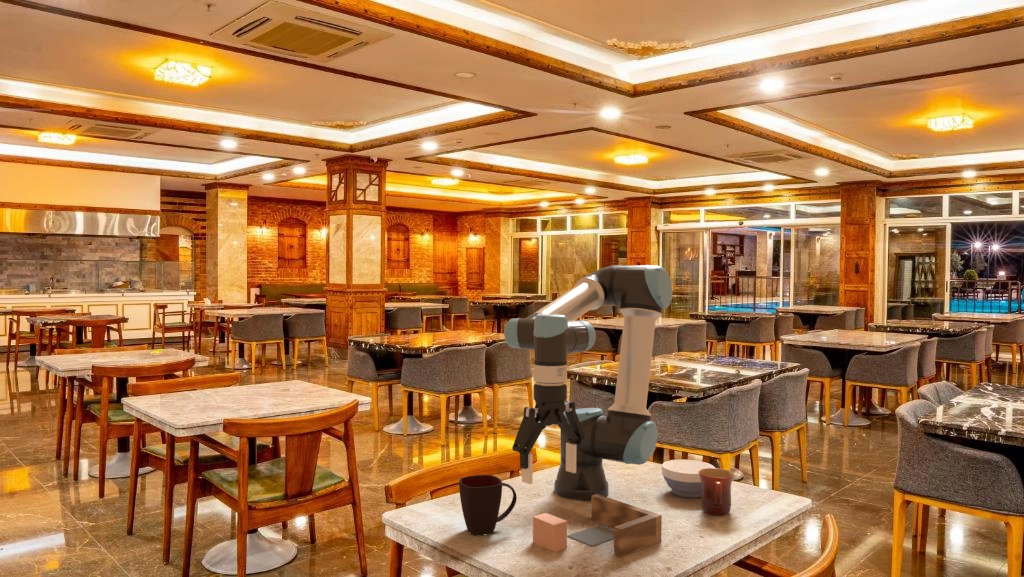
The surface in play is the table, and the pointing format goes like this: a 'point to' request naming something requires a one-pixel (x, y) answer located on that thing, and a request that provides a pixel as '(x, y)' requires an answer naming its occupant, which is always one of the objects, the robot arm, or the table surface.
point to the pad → (593, 535)
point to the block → (550, 532)
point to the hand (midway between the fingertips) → (549, 477)
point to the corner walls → (627, 524)
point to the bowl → (684, 476)
